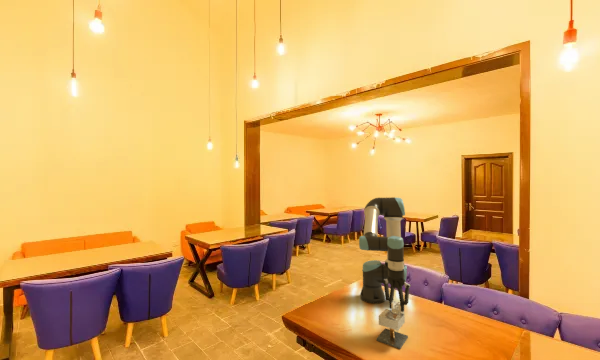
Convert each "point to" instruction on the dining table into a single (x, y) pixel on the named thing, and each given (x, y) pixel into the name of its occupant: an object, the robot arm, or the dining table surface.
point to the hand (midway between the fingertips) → (397, 316)
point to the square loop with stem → (392, 318)
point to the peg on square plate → (392, 338)
